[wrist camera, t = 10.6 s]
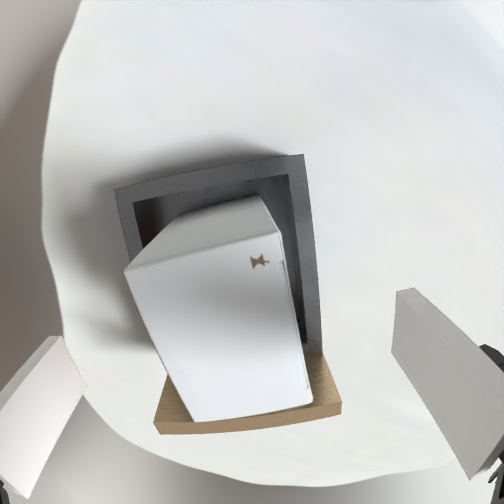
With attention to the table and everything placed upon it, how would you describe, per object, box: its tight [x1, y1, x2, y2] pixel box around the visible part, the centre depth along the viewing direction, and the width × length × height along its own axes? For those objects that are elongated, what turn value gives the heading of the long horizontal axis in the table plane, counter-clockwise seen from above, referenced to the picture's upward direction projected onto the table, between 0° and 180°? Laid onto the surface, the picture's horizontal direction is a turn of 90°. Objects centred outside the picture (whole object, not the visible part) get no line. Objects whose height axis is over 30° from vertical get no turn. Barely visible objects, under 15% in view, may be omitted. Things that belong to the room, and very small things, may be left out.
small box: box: [123, 195, 313, 422], centre depth 15 cm, size 8×6×10 cm
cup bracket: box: [114, 154, 342, 434], centre depth 17 cm, size 11×14×9 cm
